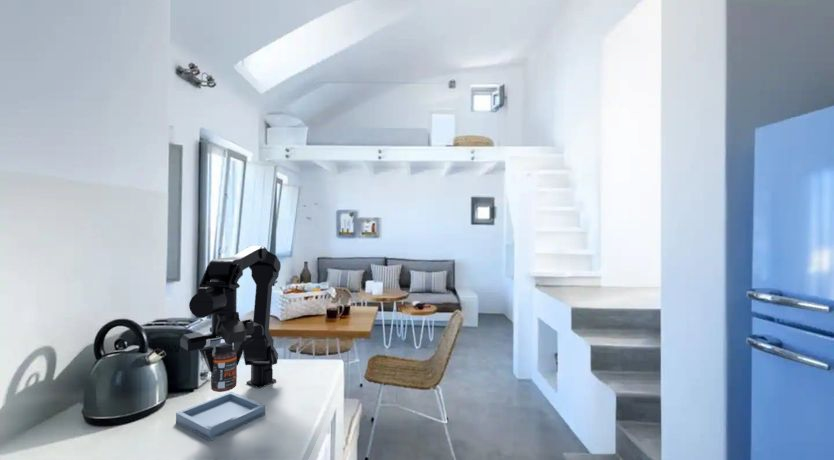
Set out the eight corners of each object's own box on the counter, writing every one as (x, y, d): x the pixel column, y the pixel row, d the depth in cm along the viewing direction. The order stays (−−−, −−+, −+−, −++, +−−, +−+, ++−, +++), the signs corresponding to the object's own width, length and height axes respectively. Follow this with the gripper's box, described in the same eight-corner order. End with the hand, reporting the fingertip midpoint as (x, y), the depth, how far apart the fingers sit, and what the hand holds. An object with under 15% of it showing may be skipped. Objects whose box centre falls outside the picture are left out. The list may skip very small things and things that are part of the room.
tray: (175, 422, 99) (176, 412, 99) (231, 400, 112) (231, 391, 112) (209, 440, 91) (210, 430, 91) (265, 414, 104) (265, 405, 104)
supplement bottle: (226, 394, 98) (226, 349, 98) (205, 391, 99) (205, 347, 99) (241, 384, 104) (241, 341, 104) (221, 382, 105) (221, 340, 105)
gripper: (196, 320, 89) (196, 388, 89) (274, 307, 103) (273, 366, 103) (179, 312, 96) (179, 375, 97) (253, 301, 110) (253, 356, 111)
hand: (223, 368), depth 101 cm, fingers closed on supplement bottle, 6 cm apart
